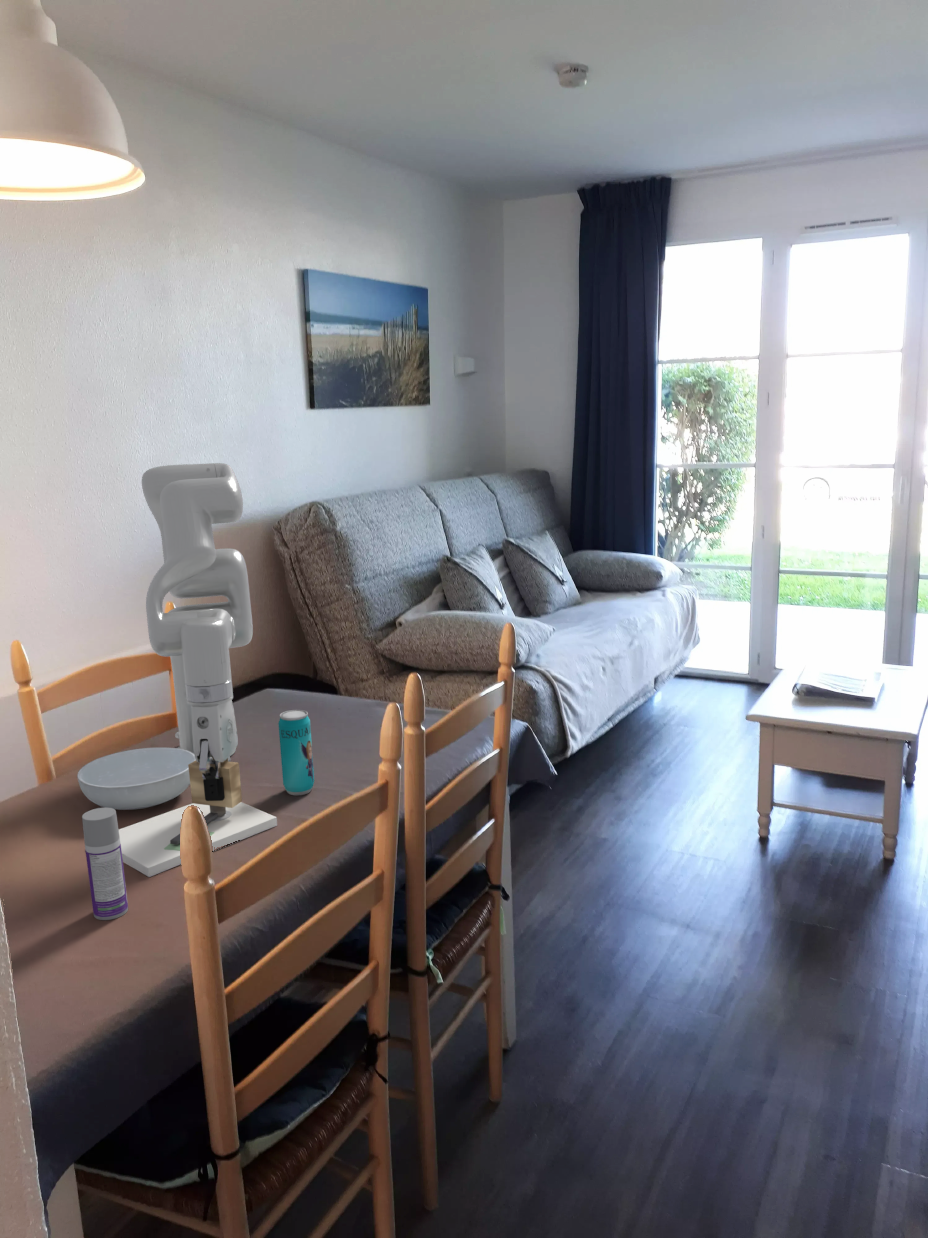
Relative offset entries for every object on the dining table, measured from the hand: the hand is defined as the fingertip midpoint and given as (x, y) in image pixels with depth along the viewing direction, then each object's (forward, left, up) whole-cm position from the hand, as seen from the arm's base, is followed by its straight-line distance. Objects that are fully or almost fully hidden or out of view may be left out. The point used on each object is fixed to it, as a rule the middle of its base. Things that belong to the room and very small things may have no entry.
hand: (219, 793), depth 165 cm
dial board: (-1, -6, -6) cm, 8 cm away
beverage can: (-2, +18, -6) cm, 19 cm away
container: (+13, -27, -6) cm, 31 cm away
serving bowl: (-22, -3, -6) cm, 23 cm away
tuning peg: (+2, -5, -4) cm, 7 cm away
